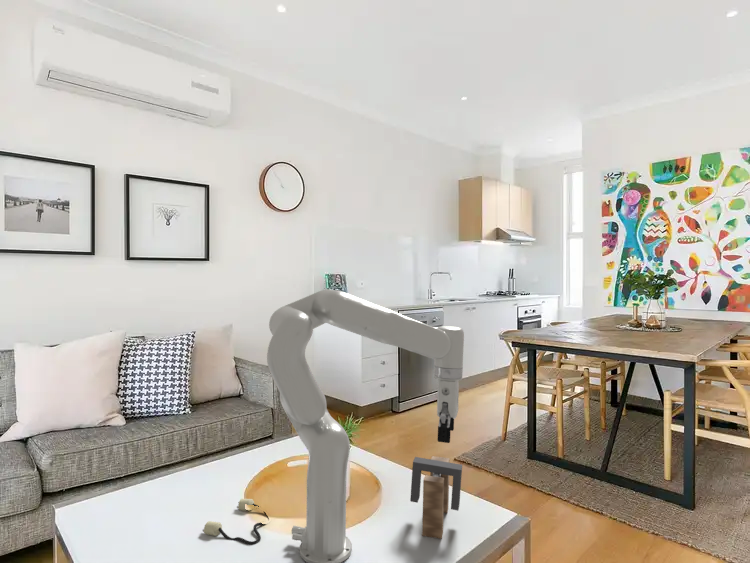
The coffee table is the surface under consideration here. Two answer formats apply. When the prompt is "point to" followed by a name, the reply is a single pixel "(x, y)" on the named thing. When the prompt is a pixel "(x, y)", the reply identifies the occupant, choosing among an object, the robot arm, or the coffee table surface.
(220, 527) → the cable
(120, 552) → the coffee table surface
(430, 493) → the hook stand
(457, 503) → the grey channel bracket
